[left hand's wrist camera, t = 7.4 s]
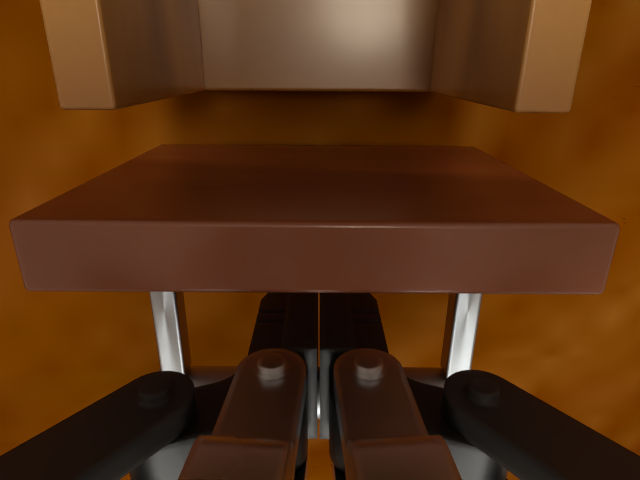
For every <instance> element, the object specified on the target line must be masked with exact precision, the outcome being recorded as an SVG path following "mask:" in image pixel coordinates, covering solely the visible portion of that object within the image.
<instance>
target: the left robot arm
mask: <svg viewBox="0 0 640 480" xmlns="http://www.w3.org/2000/svg"><path fill="white" fill-rule="evenodd" d="M317 395H318V293H294V292H269V293H268V294H267V295H266V296H265V297H264V298H263V299H262V300H261V303H260V307H259V313H258V316H257V320H256V324H255V328H254V332H253V336H252V340H251V344H250V349H249V353H248V356H247V357H245V358H244V359H243V360H242V361H241V362H240V364H239V366H238V368H237V370H236V373H235V374H234V375H232V376H230V377H228V378H226V379H224V380H222V381H219V382H215V383H212V384H207V385H203V386H198V387H194V383H193V381H192V380H191V379H190V378H189V377H188V376H187V375H185V374H183V373H180V372H176V371H159V372H153V373H150V374H146V375H144V376H141V377H139V378H137V379H135V380H133V381H132V382H130V383H128V384H126V385H125V386H123V387H121V388H119V389H118V390H116V391H114V392H112V393H111V394H109V395H107V396H105V397H104V398H102V399H100V400H98V401H96V402H95V403H93V404H91V405H89V406H88V407H86V408H84V409H82V410H81V411H79V412H77V413H75V414H74V415H72V416H70V417H68V418H67V419H65V420H63V421H61V422H60V423H58V424H56V425H54V426H52V427H51V428H49V429H47V430H45V431H44V432H42V433H40V434H38V435H37V436H35V437H33V438H31V439H30V440H28V441H26V442H24V443H23V444H21V445H19V446H17V447H16V448H14V449H12V450H10V451H8V452H7V453H5V454H3V455H1V456H0V480H119V479H121V478H122V477H124V476H125V475H126V474H128V473H130V478H131V480H307V473H308V462H307V448H308V439H317ZM320 439H329V452H330V457H331V460H332V473H333V480H507V479H506V476H507V471H510V472H511V473H512V474H514V475H515V476H516V477H518V478H519V479H521V480H640V456H639V455H637V454H635V453H633V452H632V451H630V450H628V449H626V448H624V447H623V446H621V445H619V444H617V443H616V442H614V441H612V440H610V439H609V438H607V437H605V436H603V435H602V434H600V433H598V432H596V431H595V430H593V429H591V428H589V427H588V426H586V425H584V424H582V423H580V422H579V421H577V420H575V419H573V418H572V417H570V416H568V415H566V414H565V413H563V412H561V411H559V410H558V409H556V408H554V407H552V406H551V405H549V404H547V403H545V402H544V401H542V400H540V399H538V398H536V397H535V396H533V395H531V394H529V393H528V392H526V391H524V390H522V389H521V388H519V387H517V386H515V385H514V384H512V383H510V382H508V381H507V380H505V379H503V378H501V377H499V376H497V375H494V374H492V373H489V372H485V371H480V370H463V371H459V372H455V373H453V374H452V375H450V376H449V377H448V378H447V379H446V381H445V383H444V388H442V387H438V386H433V385H429V384H424V383H421V382H417V381H415V380H412V379H410V378H408V377H406V375H405V373H404V370H403V368H402V366H401V364H400V362H399V361H398V360H397V359H396V358H395V357H393V356H392V355H390V354H389V353H388V348H387V344H386V340H385V335H384V331H383V327H382V323H381V318H380V314H379V310H378V305H377V301H376V299H375V298H374V297H373V296H372V295H371V294H370V293H320Z"/></svg>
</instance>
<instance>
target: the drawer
mask: <svg viewBox="0 0 640 480" xmlns="http://www.w3.org/2000/svg"><path fill="white" fill-rule="evenodd" d="M591 2H592V0H40V5H41V10H42V15H43V20H44V26H45V31H46V36H47V41H48V46H49V51H50V57H51V62H52V67H53V72H54V77H55V83H56V88H57V93H58V98H59V103H60V107H61V108H63V109H65V110H115V109H120V108H124V107H129V106H134V105H138V104H143V103H148V102H152V101H157V100H161V99H166V98H171V97H175V96H180V95H185V94H189V93H194V92H199V91H203V90H216V91H370V92H434V93H438V94H442V95H446V96H450V97H454V98H458V99H463V100H467V101H471V102H475V103H479V104H483V105H487V106H492V107H496V108H500V109H504V110H508V111H512V112H517V113H567V112H569V111H570V109H571V104H572V99H573V93H574V88H575V83H576V78H577V73H578V68H579V63H580V58H581V53H582V48H583V43H584V38H585V33H586V28H587V23H588V17H589V12H590V7H591ZM9 227H10V231H11V235H12V239H13V243H14V247H15V251H16V254H17V258H18V262H19V266H20V270H21V274H22V278H23V282H24V286H25V288H26V289H27V290H29V291H127V292H150V298H151V305H152V312H153V319H154V326H155V333H156V339H157V346H158V353H159V360H160V367H161V369H160V370H159V371H176V372H180V373H183V374H185V375H187V376H188V377H189V378H190V379H191V380H192V381H193V383H194V387H198V386H203V385H207V384H212V383H215V382H219V381H222V380H224V379H226V378H228V377H230V376H232V375H234V374H235V373H236V370H237V368H238V366H190V365H191V357H190V349H189V340H188V331H187V323H186V314H185V305H184V297H183V292H294V293H449V299H448V308H447V316H446V324H445V332H444V340H443V349H442V357H441V367H442V368H414V367H402V368H403V370H404V373H405V375H406V377H408V378H410V379H412V380H415V381H417V382H421V383H424V384H429V385H433V386H438V387H442V388H444V383H445V381H446V379H447V378H448V377H449V376H450V375H452V374H453V373H455V372H459V371H463V370H471V365H472V358H473V351H474V345H475V338H476V332H477V325H478V318H479V312H480V305H481V299H482V294H601V293H602V292H603V291H604V289H605V285H606V281H607V277H608V273H609V269H610V265H611V261H612V258H613V254H614V250H615V246H616V242H617V238H618V234H619V231H620V227H619V224H618V223H616V222H614V221H612V220H610V219H609V218H607V217H605V216H603V215H601V214H599V213H597V212H595V211H594V210H592V209H590V208H588V207H586V206H584V205H582V204H580V203H579V202H577V201H575V200H573V199H571V198H569V197H567V196H565V195H563V194H562V193H560V192H558V191H556V190H554V189H552V188H550V187H548V186H547V185H545V184H543V183H541V182H539V181H537V180H535V179H533V178H532V177H530V176H528V175H526V174H524V173H522V172H520V171H518V170H516V169H515V168H513V167H511V166H509V165H507V164H505V163H503V162H501V161H500V160H498V159H496V158H494V157H492V156H490V155H488V154H486V153H485V152H483V151H481V150H479V149H477V148H475V147H444V146H287V145H160V146H158V147H156V148H154V149H152V150H150V151H148V152H146V153H144V154H142V155H140V156H138V157H136V158H134V159H132V160H130V161H128V162H126V163H124V164H122V165H120V166H118V167H116V168H114V169H112V170H110V171H108V172H106V173H104V174H102V175H100V176H98V177H96V178H94V179H92V180H90V181H88V182H86V183H84V184H82V185H80V186H78V187H76V188H74V189H72V190H70V191H68V192H66V193H64V194H62V195H60V196H58V197H56V198H54V199H52V200H50V201H48V202H46V203H44V204H42V205H40V206H38V207H36V208H34V209H32V210H30V211H28V212H26V213H24V214H22V215H20V216H18V217H16V218H14V219H12V220H11V221H10V223H9ZM159 371H158V372H159ZM317 419H320V367H318V395H317Z"/></svg>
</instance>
